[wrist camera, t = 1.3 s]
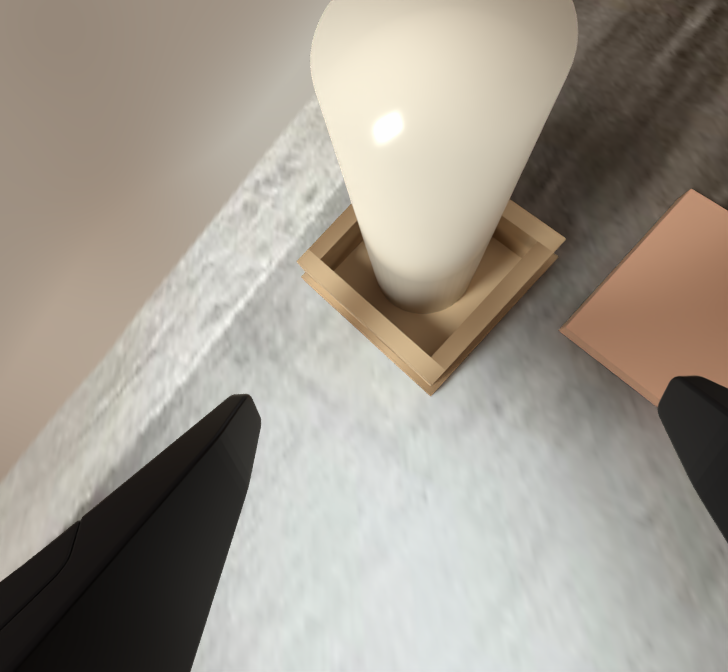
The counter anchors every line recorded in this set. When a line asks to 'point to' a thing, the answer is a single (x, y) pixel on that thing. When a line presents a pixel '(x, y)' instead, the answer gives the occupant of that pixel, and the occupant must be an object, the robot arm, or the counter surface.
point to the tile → (664, 303)
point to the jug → (436, 125)
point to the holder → (440, 329)
